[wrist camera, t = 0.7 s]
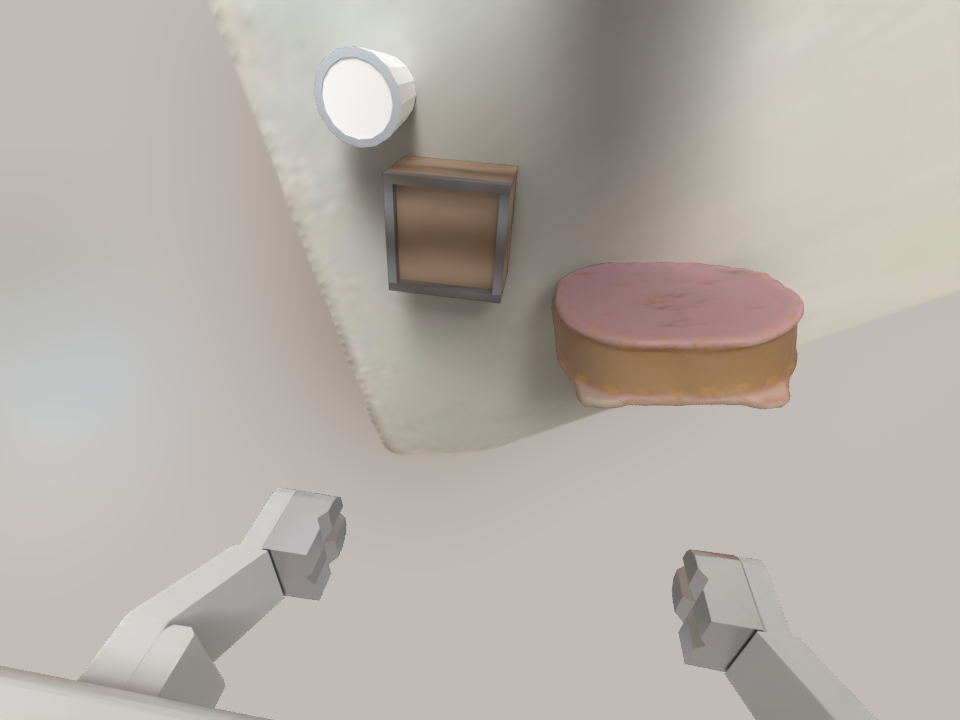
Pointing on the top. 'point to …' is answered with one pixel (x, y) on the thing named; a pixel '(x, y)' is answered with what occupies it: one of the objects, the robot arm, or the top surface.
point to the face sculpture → (676, 335)
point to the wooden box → (448, 227)
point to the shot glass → (363, 95)
